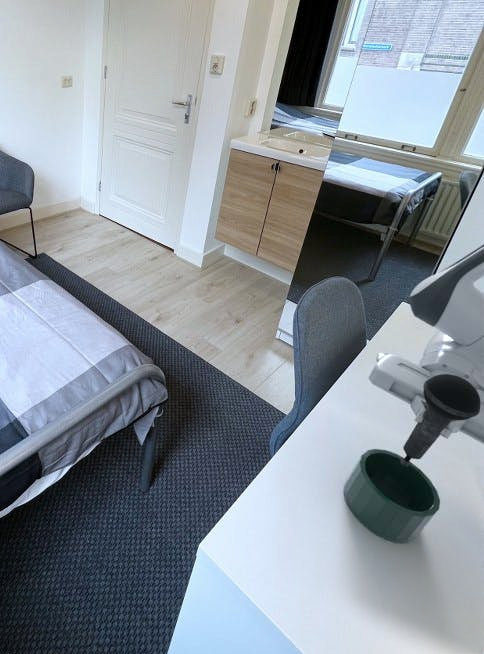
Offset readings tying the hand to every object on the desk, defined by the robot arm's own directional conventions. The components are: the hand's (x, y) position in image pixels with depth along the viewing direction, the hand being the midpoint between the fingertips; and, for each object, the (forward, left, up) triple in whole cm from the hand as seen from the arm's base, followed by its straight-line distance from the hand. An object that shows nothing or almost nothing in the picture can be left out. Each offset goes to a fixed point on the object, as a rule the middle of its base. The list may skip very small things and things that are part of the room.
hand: (432, 427), depth 65 cm
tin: (0, 0, -21) cm, 21 cm away
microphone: (0, -1, -11) cm, 11 cm away
